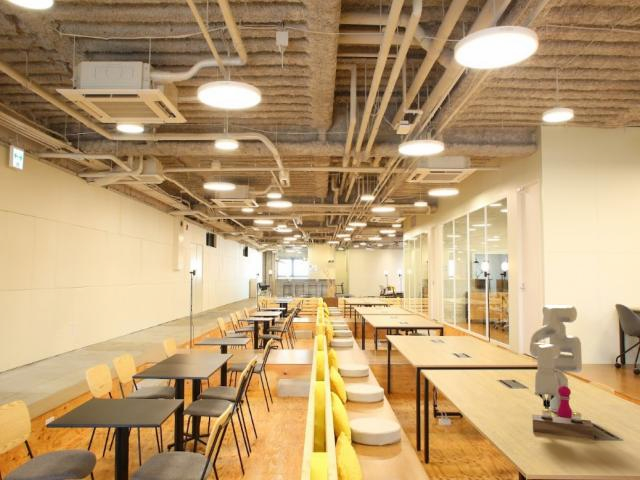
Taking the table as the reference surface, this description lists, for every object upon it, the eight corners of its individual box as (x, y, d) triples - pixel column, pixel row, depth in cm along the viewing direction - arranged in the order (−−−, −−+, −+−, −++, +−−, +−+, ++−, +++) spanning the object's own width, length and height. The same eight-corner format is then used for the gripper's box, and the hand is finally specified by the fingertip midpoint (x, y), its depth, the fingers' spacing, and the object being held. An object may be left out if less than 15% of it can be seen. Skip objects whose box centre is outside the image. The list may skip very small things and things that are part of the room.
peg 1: (542, 417, 238) (542, 408, 238) (551, 418, 236) (551, 409, 237) (542, 420, 234) (542, 410, 235) (551, 421, 233) (551, 411, 233)
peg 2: (571, 421, 233) (571, 411, 233) (580, 422, 232) (580, 412, 232) (572, 423, 229) (572, 414, 230) (581, 424, 228) (581, 415, 228)
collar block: (532, 426, 242) (532, 414, 243) (590, 433, 232) (590, 420, 233) (533, 432, 233) (533, 419, 233) (593, 439, 223) (593, 426, 223)
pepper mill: (559, 419, 254) (558, 381, 255) (574, 422, 249) (573, 383, 251) (556, 422, 248) (554, 383, 250) (571, 425, 244) (570, 385, 245)
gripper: (561, 370, 238) (562, 408, 236) (529, 368, 243) (530, 404, 242) (563, 373, 231) (564, 412, 229) (529, 370, 236) (530, 408, 235)
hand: (546, 408), depth 236 cm, fingers closed
